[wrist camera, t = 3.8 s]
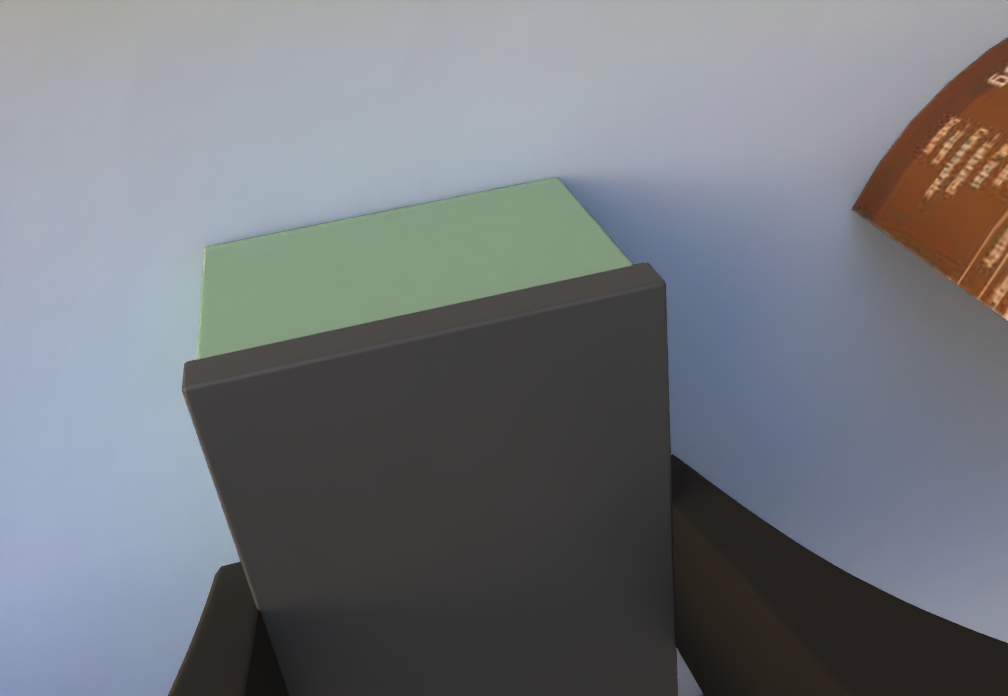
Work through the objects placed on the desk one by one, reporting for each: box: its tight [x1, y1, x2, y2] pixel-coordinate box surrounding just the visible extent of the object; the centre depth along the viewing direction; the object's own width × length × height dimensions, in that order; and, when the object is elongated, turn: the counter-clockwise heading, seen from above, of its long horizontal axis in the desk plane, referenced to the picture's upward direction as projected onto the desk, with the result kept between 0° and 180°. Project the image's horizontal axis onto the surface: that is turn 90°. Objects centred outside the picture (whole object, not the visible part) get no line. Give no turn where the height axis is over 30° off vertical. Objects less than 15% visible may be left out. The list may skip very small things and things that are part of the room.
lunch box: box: [182, 177, 678, 696], centre depth 14 cm, size 5×9×4 cm, turn 6°
